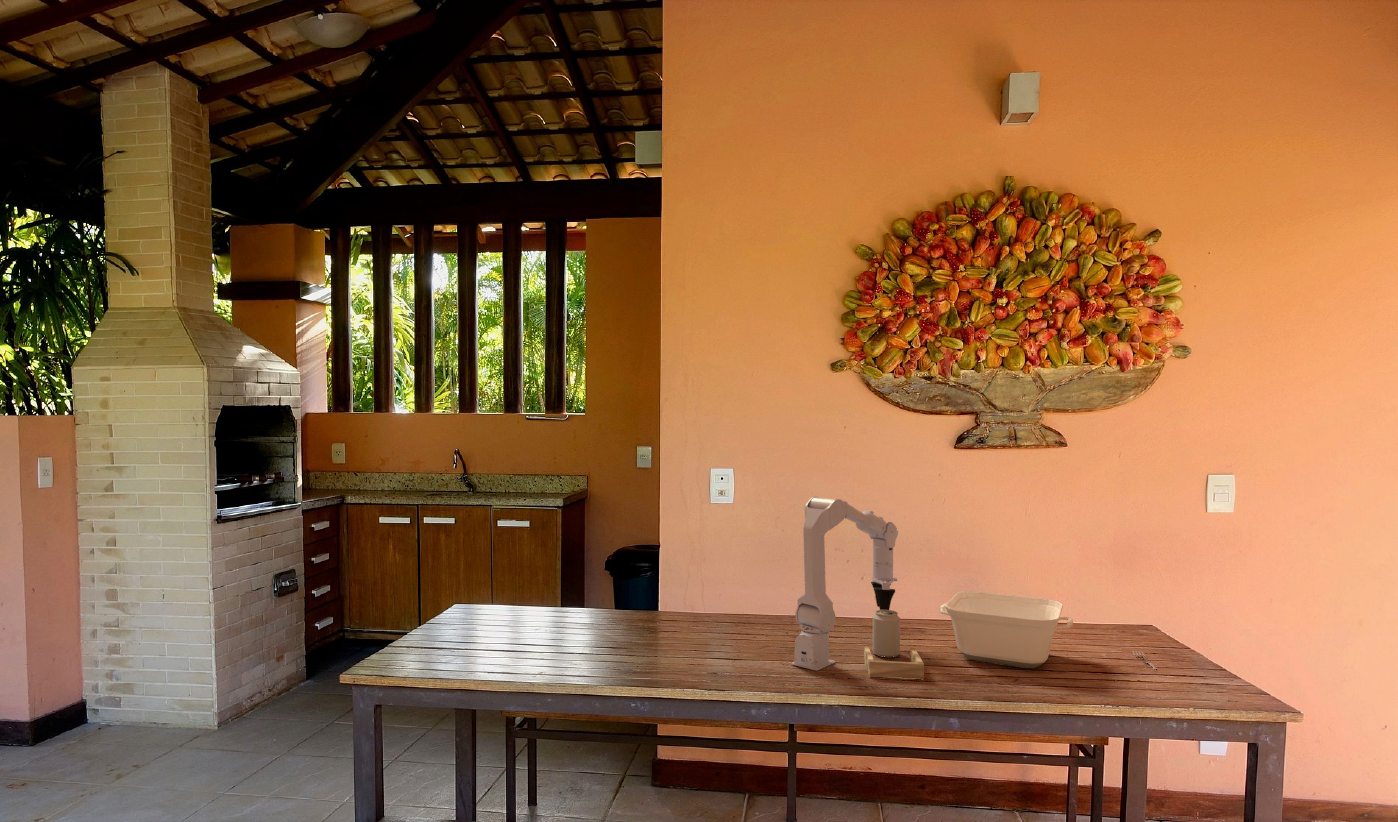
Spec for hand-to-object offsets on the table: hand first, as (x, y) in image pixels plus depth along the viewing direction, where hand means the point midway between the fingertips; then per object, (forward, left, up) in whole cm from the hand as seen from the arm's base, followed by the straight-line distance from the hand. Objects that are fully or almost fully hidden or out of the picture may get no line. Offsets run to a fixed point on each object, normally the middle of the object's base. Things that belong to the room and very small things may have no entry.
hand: (882, 609), depth 225 cm
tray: (-18, -12, -10) cm, 24 cm away
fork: (+30, -63, -11) cm, 71 cm away
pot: (+13, -30, -11) cm, 34 cm away
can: (-7, -5, -11) cm, 14 cm away
